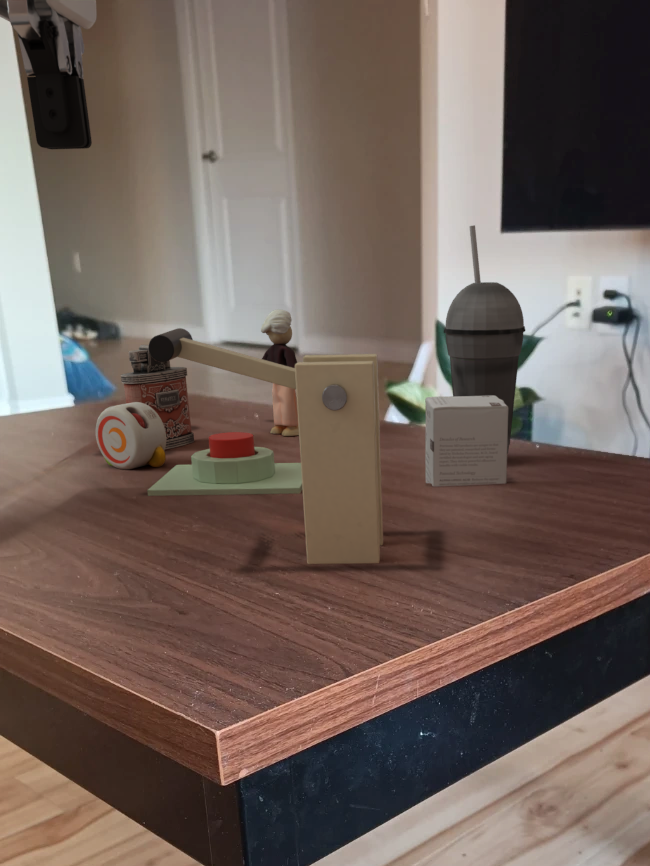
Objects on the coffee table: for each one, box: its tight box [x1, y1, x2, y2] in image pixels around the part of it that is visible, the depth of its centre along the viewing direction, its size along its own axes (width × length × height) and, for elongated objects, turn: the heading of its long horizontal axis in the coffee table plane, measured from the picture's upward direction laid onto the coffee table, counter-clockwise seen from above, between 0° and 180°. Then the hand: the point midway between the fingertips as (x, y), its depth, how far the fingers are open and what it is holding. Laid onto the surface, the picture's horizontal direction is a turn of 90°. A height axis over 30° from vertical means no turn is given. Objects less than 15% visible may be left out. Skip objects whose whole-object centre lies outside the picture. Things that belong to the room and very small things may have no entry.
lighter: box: [120, 344, 195, 450], centre depth 105 cm, size 8×3×10 cm, turn 147°
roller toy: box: [95, 402, 167, 471], centre depth 97 cm, size 4×6×6 cm
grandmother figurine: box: [260, 308, 299, 437], centre depth 111 cm, size 8×4×13 cm, turn 49°
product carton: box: [424, 395, 508, 487], centre depth 83 cm, size 6×6×7 cm
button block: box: [146, 446, 303, 497], centre depth 85 cm, size 12×10×4 cm
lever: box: [148, 327, 296, 390], centre depth 60 cm, size 12×5×2 cm, turn 88°
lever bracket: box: [295, 353, 384, 565], centre depth 62 cm, size 11×8×13 cm
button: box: [208, 431, 255, 458], centre depth 84 cm, size 4×4×2 cm
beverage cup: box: [443, 224, 526, 455], centre depth 92 cm, size 7×7×20 cm
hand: (65, 147), depth 69 cm, fingers closed
